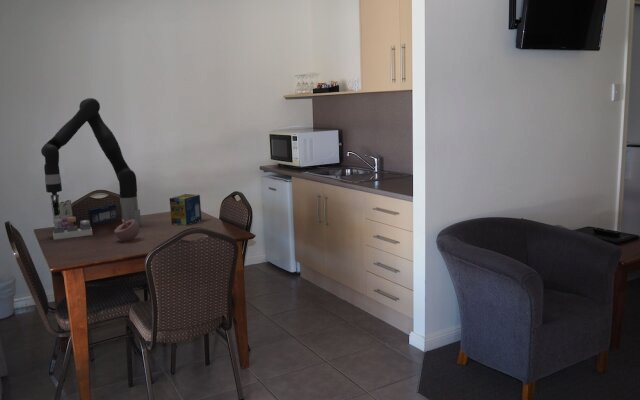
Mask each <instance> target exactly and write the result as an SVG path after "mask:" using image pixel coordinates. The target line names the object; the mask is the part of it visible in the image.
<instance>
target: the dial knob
mask: <svg viewBox="0 0 640 400" xmlns="http://www.w3.org/2000/svg"><path fill="white" fill-rule="evenodd" d="M76 221H77V218H76V216H73V217H67V223H70V225H71V226H73V222H74V223H76Z"/></svg>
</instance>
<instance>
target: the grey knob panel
mask: <svg viewBox="0 0 640 400" xmlns="http://www.w3.org/2000/svg"><path fill="white" fill-rule="evenodd" d="M52 236H53V238H52V239H53V241H55V240H63V239H70V238H79V237H85V236H93V229H92V226H90V225H87V226H81V224H80V225H79V228H78V225H74V226H69V227H67V230H64V227H60V228H55V227H54V228H53V232H52Z"/></svg>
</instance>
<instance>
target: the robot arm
mask: <svg viewBox="0 0 640 400" xmlns="http://www.w3.org/2000/svg"><path fill="white" fill-rule="evenodd" d="M100 109H101V103H100V102H99V101H98V99H96V98H93V97H92V98H91V97H87V98H85V99H83V100H82V101H81V102H80V103H79V109H78V111H77V112H76V113H75V114H74V116H73V117H72V118H70V119H69V120H68V121H67V122H66V123H65V124H64V125H63V126H62V127H60V129H58V131H57V132H56V133H55V135H54V136H53V137H52V138H50V140H48V141H47V142H46V143H45V144H43V146H42V147H41V151H40V152H41V155H42V156H43V157H44V162H45V163H44V166H43V167H44V168H43V170H44V182H45V183H44V184H45V192H46V193H48V194H49V193H51V194H52V195H50V201H51V203H52V204H53V208H54V215H55V216H57V215H59V209H58V208H59V206H58V204H59V201H60V194H58V193H59V192H62V191H63V188H62V178H61V177H62V176H61V173H60V165H59V163H60V152H59V151H60V149H61V148H62V147H64V146H65V145H67V144H68V143H69V142H70V141H71V139H73V137H74V136H75V135H76V134H77V133H78V131H79V130H80V129H81V128H82V126H83V125H85V123H87V124H89V126H90V128H91V130H92V133H93V135H94V137H95V140H96V141H97V143H98V145H99V147H100V148H101V150H102V152H103V153H104V155H105V157H106V159H108V161H109V163H110V164H111V166H112V168H113V170H114V173H115V176H116V178H117V181H118V184H119V201H120V209H121V210H120V212H121V220H122V219H123V220H124V221H125V222H126V221H128V220H131V219H134V220H135V221H136V222H137V223H138V225H139V227H141V226H142V219H141V218H142V217H141V216H142V215H141V210H140V208H139V203H138V187H137V186H138V184H137V176H136V173H135V172H134V171H133V170H132V169H131V167H130V166H129V165H128V164H127V162H126V160H125V158H124V156H123V152H122V149H121V147H120V145H119V142H118V140H117V139H116V136H115V134H114V133H113V132H112V130H111V129H110V128H109V127H108V125H107V124H105V122H104V121H103V119H102V116H101V115H100ZM121 222H122V221H121ZM122 224H123V222H122Z"/></svg>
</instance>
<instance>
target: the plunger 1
mask: <svg viewBox="0 0 640 400" xmlns="http://www.w3.org/2000/svg"><path fill="white" fill-rule="evenodd" d="M52 222H53V225H54V224H57V227H60V224H61V223H63V221H62V218H56V219H52Z"/></svg>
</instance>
